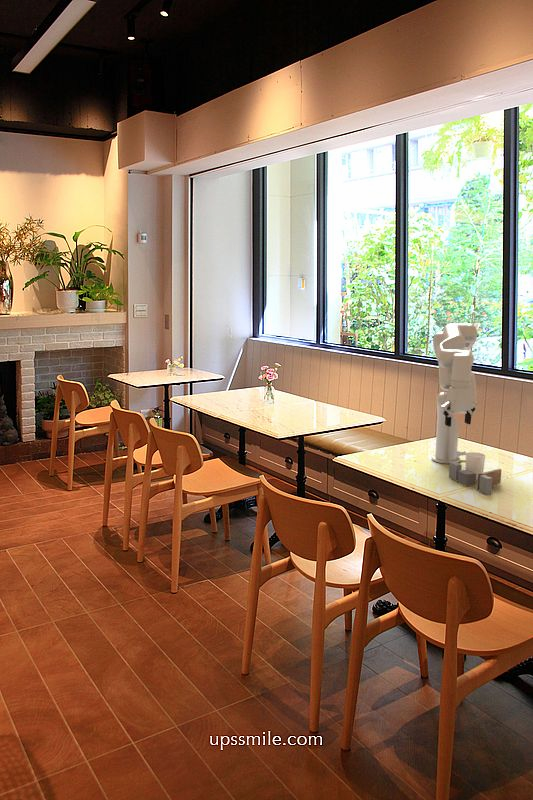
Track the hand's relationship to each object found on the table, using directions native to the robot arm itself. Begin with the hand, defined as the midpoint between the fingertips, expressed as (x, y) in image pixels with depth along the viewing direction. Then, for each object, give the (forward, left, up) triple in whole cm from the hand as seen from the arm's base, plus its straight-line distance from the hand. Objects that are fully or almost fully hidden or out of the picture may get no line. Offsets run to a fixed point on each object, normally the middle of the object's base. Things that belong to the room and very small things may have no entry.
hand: (457, 424), depth 307 cm
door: (-6, +14, -23) cm, 28 cm away
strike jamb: (0, 0, -23) cm, 23 cm away
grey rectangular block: (-1, +7, -23) cm, 24 cm away
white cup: (-9, +1, -23) cm, 25 cm away
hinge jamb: (0, +20, -23) cm, 31 cm away
